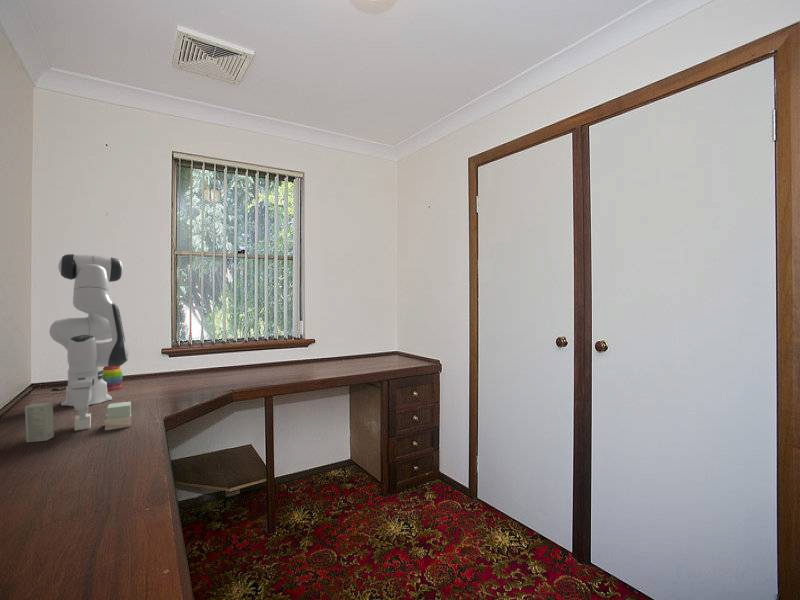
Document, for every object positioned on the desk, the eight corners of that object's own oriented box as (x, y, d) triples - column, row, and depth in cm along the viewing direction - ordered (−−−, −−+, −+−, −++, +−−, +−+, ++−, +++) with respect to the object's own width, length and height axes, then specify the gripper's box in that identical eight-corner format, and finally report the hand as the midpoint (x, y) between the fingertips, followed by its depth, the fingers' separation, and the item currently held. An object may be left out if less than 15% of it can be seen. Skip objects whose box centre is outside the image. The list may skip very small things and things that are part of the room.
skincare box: (54, 436, 144) (54, 401, 144) (46, 441, 140) (46, 405, 140) (33, 438, 143) (32, 403, 143) (24, 442, 139) (24, 406, 139)
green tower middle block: (109, 414, 158) (108, 403, 158) (131, 411, 162) (130, 401, 162) (107, 419, 152) (107, 408, 152) (130, 416, 156) (129, 405, 156)
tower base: (106, 425, 158) (105, 414, 158) (131, 421, 162) (131, 411, 162) (105, 431, 151) (104, 420, 151) (131, 427, 156) (131, 416, 156)
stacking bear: (103, 387, 223) (103, 354, 222) (125, 386, 226) (125, 353, 225) (96, 392, 212) (95, 357, 212) (119, 390, 215) (118, 356, 215)
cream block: (76, 427, 155) (75, 415, 155) (91, 425, 157) (90, 413, 157) (74, 430, 151) (74, 418, 151) (90, 428, 154) (89, 416, 154)
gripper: (75, 376, 161) (76, 412, 161) (69, 385, 144) (69, 425, 144) (95, 374, 164) (96, 409, 164) (91, 382, 147) (92, 421, 147)
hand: (83, 417), depth 154 cm, fingers open, 8 cm apart
